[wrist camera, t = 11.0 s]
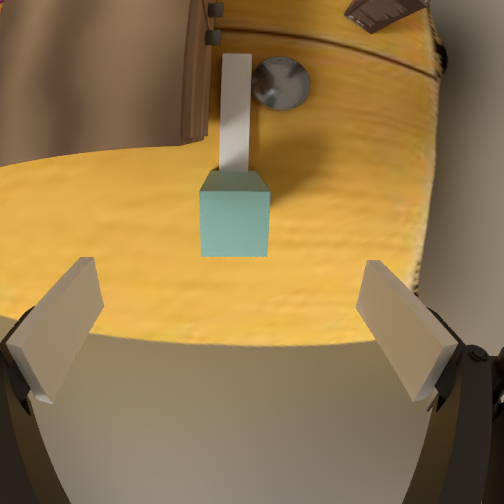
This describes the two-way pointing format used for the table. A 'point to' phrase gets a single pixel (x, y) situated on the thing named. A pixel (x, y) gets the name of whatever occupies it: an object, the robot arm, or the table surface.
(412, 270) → the table surface
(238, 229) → the tool
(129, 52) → the wooden cabinet
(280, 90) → the disc
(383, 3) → the box
